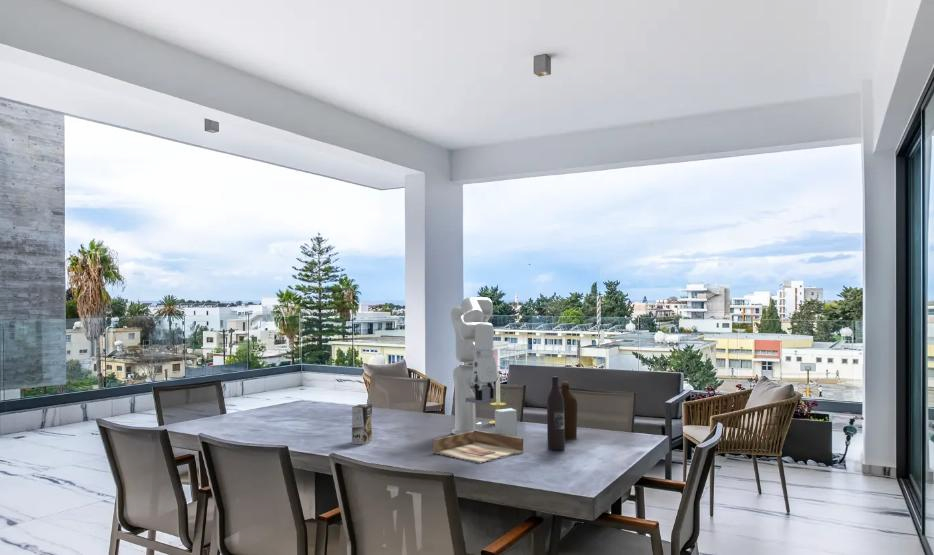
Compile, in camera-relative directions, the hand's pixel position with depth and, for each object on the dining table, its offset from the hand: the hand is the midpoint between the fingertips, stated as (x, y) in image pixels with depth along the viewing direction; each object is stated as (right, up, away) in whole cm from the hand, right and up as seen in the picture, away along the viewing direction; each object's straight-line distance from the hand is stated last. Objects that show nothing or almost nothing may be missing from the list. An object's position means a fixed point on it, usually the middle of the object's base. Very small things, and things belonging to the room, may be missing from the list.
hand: (484, 398), depth 254 cm
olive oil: (+38, -24, +34) cm, 56 cm away
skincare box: (+10, -24, +20) cm, 33 cm away
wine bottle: (+30, -23, +9) cm, 39 cm away
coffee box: (-53, -24, +26) cm, 64 cm away
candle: (+9, -26, +70) cm, 76 cm away
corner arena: (-2, -23, +4) cm, 23 cm away
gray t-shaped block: (-3, -2, +2) cm, 4 cm away
